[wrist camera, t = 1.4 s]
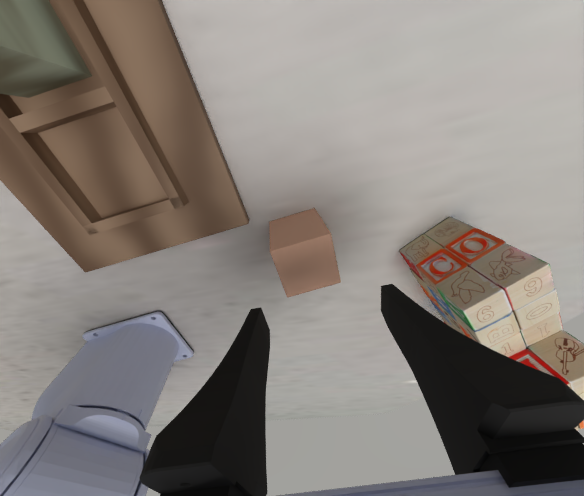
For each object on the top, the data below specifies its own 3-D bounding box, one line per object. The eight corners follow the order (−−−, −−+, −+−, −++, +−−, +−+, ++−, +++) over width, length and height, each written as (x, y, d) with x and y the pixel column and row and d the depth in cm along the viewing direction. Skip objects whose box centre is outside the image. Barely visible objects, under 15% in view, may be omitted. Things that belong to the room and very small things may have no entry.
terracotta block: (282, 259, 23) (287, 297, 17) (269, 221, 21) (269, 251, 15) (323, 247, 23) (340, 282, 17) (314, 207, 20) (330, 233, 15)
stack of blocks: (395, 250, 24) (503, 347, 13) (449, 214, 22) (620, 290, 11) (456, 341, 33) (549, 445, 22) (496, 320, 31) (618, 419, 20)
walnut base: (93, 266, 21) (19, 321, 15) (-225, -93, 10) (-928, -417, 4) (249, 219, 20) (240, 257, 14) (75, -215, 10) (-251, -805, 4)
